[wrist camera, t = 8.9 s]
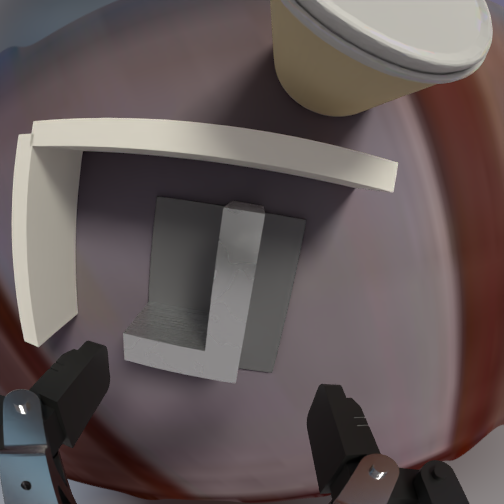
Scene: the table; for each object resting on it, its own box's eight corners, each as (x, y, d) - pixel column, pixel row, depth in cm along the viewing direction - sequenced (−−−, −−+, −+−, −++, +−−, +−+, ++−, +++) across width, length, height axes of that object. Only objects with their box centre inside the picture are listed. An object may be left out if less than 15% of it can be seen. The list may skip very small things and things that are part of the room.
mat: (148, 348, 22) (147, 350, 22) (158, 196, 19) (156, 196, 19) (271, 370, 22) (272, 372, 22) (305, 219, 19) (306, 220, 19)
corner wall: (64, 309, 22) (24, 340, 16) (71, 131, 18) (21, 122, 12) (313, 359, 22) (327, 410, 16) (359, 166, 18) (398, 162, 13)
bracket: (240, 341, 21) (235, 383, 16) (149, 324, 21) (124, 360, 16) (263, 205, 19) (265, 214, 14) (158, 190, 19) (127, 194, 14)
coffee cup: (406, 119, 18) (527, 82, 6) (284, 142, 18) (323, 85, 7) (364, 12, 15) (430, -79, 4) (245, 25, 16) (234, -95, 5)
